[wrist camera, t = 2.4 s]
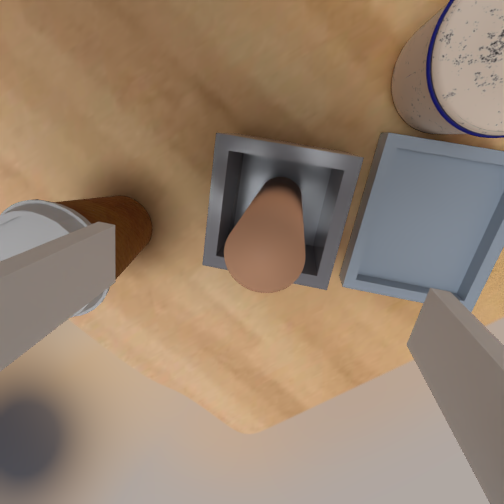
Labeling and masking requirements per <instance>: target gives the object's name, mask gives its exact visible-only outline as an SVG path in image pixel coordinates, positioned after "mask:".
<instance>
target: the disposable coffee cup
mask: <svg viewBox="0 0 504 504" xmlns="http://www.w3.org/2000/svg"><path fill="white" fill-rule="evenodd" d="M96 222H103V223H108V224H113V225H115V280H116V279H117V277H118V276H119V275H120V274H121V273H122V272H123V271H124V269H126V267H127V266H128V265H129V264H130V263H131V262H132V260H134V258H135V257H136V256H137V255H138V254H139V252H141V250H142V249H143V248H144V247H145V246H146V245H147V244H148V242H149V241H150V238H151V236H152V223H151V220H150V217H149V215H148V213H147V211H146V210H145V209H144V207H143V206H142V205H141V204H140V203H138V202H137V201H135V200H133V199H131V198H129V197H126V196H112V197H102V198H92V199H82V200H73V201H63V202H49V201H43V200H38V199H36V200H27V201H21V202H18V203H16V204H13V205H11V206H10V207H9V208H7V209H6V210H4V212H3V213H2V214H1V215H0V261H3V260H5V259H7V258H10V257H12V256H15V255H17V254H20V253H22V252H25V251H27V250H30V249H32V248H35V247H37V246H39V245H42V244H44V243H47V242H49V241H52V240H54V239H57V238H59V237H62V236H64V235H67V234H69V233H71V232H74V231H76V230H79V229H81V228H84V227H86V226H89V225H91V224H94V223H96ZM108 291H109V288H107V289H106V290H105V291H103V292H102V293H101V294H100V295H98V296H97V297H96V298H94V299H93V300H92V301H91V302H89V303H88V304H87V305H85V306H84V307H83V308H82V309H80V310H79V311H78V312H76V313H75V314H74V315H72V316H71V317H73V316H80V315H83V314H86V313H88V312H90V311H92V310H94V309H95V308H96V307H97V306H98V305H99V304H100V303H101V302H102V301H103V300H104V298H105V296H106V294H107V293H108Z"/></svg>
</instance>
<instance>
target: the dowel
mask: <svg viewBox="0 0 504 504" xmlns="http://www.w3.org/2000/svg"><path fill="white" fill-rule="evenodd" d="M224 259H225V264H226V267H227V269H228V271H229V273H230V274H231V276H232V277H233V278H234V279H235V280H236V281H237V282H238V283H239V284H241V285H242V286H243V287H245V288H247V289H249V290H252V291H256V292H261V293H272V292H277V291H280V290H283V289H285V288H287V287H289V286H290V285H291V284H293V283H294V282H295V281H296V280H297V279H298V277H299V276H300V274H301V272H302V270H303V268H304V265H305V240H304V224H303V209H302V195H301V191H300V188H299V187H298V185H297V184H296V183H295V182H294V181H293V180H291V179H289V178H286V177H275V178H272V179H270V180H269V181H267V182H266V183H265V184H264V185H263V187H262V188H261V190H260V191H259V192H258V194H257V195H256V197H255V198H254V200H253V201H252V202H251V204H250V205H249V207H248V208H247V210H246V211H245V213H244V214H243V215H242V217H241V218H240V220H239V221H238V223H237V224H236V226H235V227H234V228H233V230H232V231H231V233H230V234H229V236H228V238H227V240H226V243H225V247H224Z"/></svg>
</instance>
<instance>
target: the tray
mask: <svg viewBox="0 0 504 504" xmlns="http://www.w3.org/2000/svg"><path fill="white" fill-rule="evenodd" d="M503 247H504V151H499V150H493V149H487V148H481V147H474V146H468V145H462V144H456V143H450V142H444V141H437V140H431V139H425V138H419V137H413V136H407V135H401V134H394V133H381V134H380V137H379V141H378V144H377V148H376V151H375V155H374V158H373V162H372V165H371V168H370V172H369V175H368V179H367V182H366V186H365V189H364V193H363V196H362V199H361V203H360V206H359V210H358V213H357V217H356V220H355V224H354V227H353V230H352V234H351V237H350V241H349V244H348V248H347V251H346V255H345V258H344V261H343V265H342V268H341V272H340V275H339V276H340V280H341V283H342V287H346V288H351V289H356V290H361V291H366V292H371V293H376V294H381V295H386V296H391V297H396V298H401V299H406V300H411V301H416V302H421V303H424V301H425V299H426V296H427V294H428V292H429V289H430V288H434V289H439V290H444V291H449V292H451V293H452V294H453V295H454V296H455V297H456V298H457V299H458V300H459V301H460V302H461V303H462V304H463V305H464V306H465V307H466V308H467V309H468V310H469V311H470V312H472V310H473V308H474V306H475V304H476V302H477V300H478V298H479V296H480V293H481V291H482V289H483V287H484V285H485V283H486V281H487V279H488V277H489V275H490V273H491V271H492V269H493V267H494V265H495V263H496V261H497V259H498V257H499V255H500V253H501V251H502V249H503Z"/></svg>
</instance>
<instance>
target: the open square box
mask: <svg viewBox="0 0 504 504" xmlns="http://www.w3.org/2000/svg"><path fill="white" fill-rule="evenodd" d="M362 162H363V157H360V156H357V155H354V154H351V153H348V152H344V151H338V150H332V149H326V148H320V147H314V146H308V145H302V144H296V143H290V142H284V141H278V140H273V139H267V138H261V137H255V136H249V135H243V134H235V133H216V140H215V149H214V159H213V169H212V178H211V188H210V198H209V207H208V217H207V227H206V236H205V246H204V256H203V265H205V266H210V267H215V268H220V269H225V270H228V269H227V267H226V264H225V259H224V247H225V243H226V240H227V238H228V236H229V234H230V233H231V231H232V230H233V228H234V227H235V226H236V224H237V223H238V221H239V220H240V218H241V217H242V215H243V214H244V213H245V211H246V210H247V208H248V207H249V205H250V204H251V202H252V201H253V200H254V198H255V197H256V195H257V194H258V192H259V191H260V190H261V188H262V187H263V185H264V184H265V183H266V182H267V181H269V180H270V179H272V178H275V177H286V178H289V179H291V180H293V181H294V182H295V183H296V184H297V185H298V187H299V188H300V191H301V195H302V209H303V224H304V240H305V265H304V268H303V270H302V272H301V274H300V276H299V277H298V279H297V280H296V281H295V282H294V284H299V285H304V286H309V287H314V288H319V289H324V290H327V287H328V284H329V280H330V277H331V273H332V269H333V266H334V262H335V259H336V255H337V251H338V248H339V244H340V241H341V237H342V234H343V230H344V226H345V223H346V219H347V216H348V212H349V208H350V205H351V201H352V198H353V194H354V190H355V187H356V183H357V180H358V176H359V173H360V169H361V165H362Z"/></svg>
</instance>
